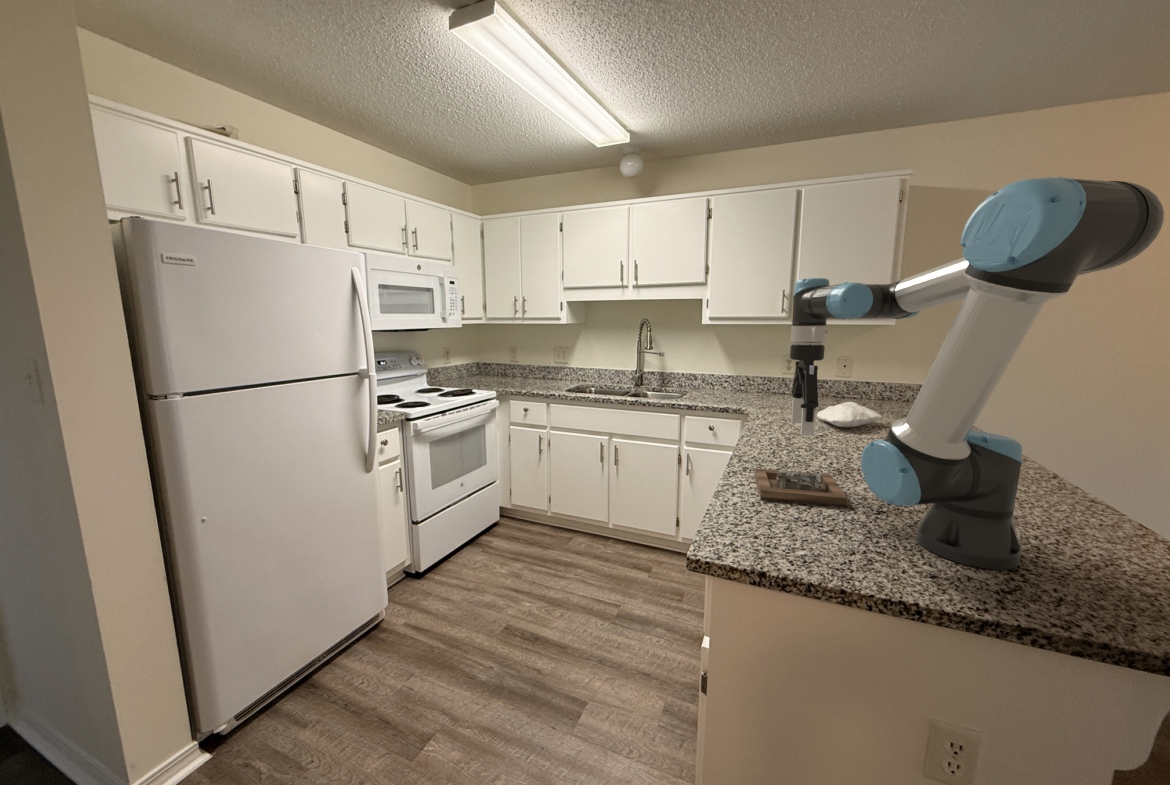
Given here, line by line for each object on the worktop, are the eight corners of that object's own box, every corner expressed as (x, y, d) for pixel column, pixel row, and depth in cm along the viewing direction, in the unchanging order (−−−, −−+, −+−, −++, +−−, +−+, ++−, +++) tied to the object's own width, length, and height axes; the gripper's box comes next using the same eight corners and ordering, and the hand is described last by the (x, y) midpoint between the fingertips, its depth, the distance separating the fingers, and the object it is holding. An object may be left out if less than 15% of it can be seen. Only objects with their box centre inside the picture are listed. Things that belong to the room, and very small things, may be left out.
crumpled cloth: (880, 417, 198) (878, 396, 197) (885, 433, 168) (883, 409, 168) (819, 419, 210) (818, 400, 210) (814, 435, 180) (812, 413, 180)
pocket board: (846, 508, 106) (847, 498, 106) (760, 499, 111) (761, 490, 111) (829, 483, 122) (830, 474, 122) (754, 477, 127) (755, 468, 127)
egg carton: (774, 489, 116) (775, 474, 115) (776, 480, 122) (777, 466, 122) (821, 496, 111) (822, 480, 110) (821, 486, 118) (822, 471, 117)
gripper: (837, 346, 98) (830, 441, 101) (813, 341, 122) (808, 418, 125) (800, 346, 100) (793, 439, 103) (783, 341, 124) (778, 417, 127)
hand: (801, 428), depth 114 cm, fingers open, 13 cm apart
